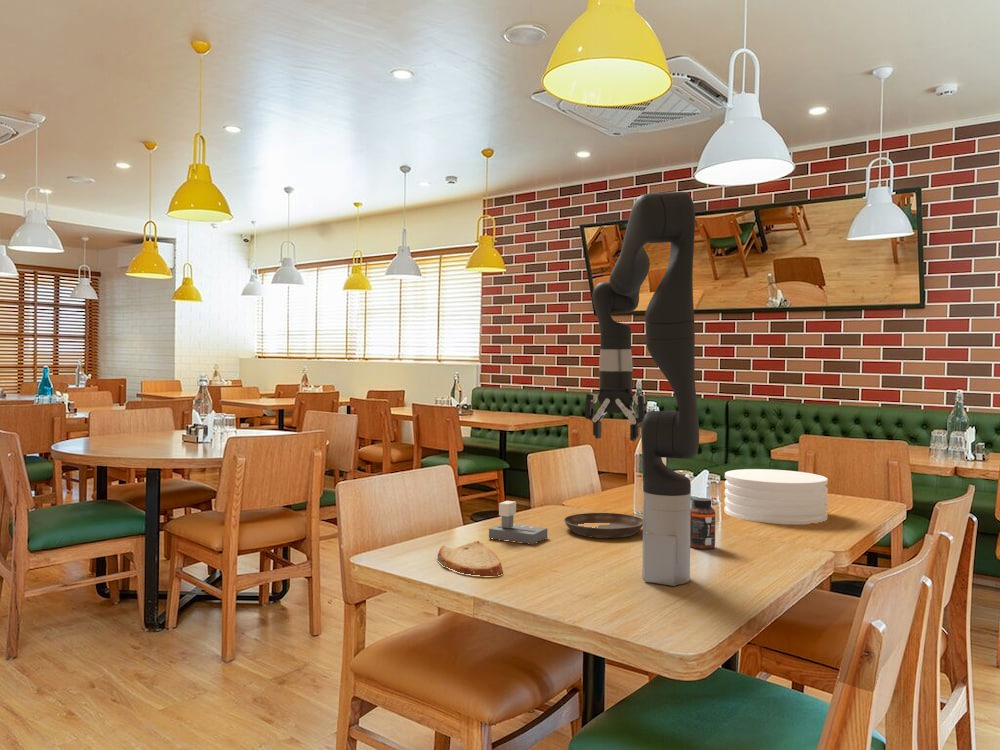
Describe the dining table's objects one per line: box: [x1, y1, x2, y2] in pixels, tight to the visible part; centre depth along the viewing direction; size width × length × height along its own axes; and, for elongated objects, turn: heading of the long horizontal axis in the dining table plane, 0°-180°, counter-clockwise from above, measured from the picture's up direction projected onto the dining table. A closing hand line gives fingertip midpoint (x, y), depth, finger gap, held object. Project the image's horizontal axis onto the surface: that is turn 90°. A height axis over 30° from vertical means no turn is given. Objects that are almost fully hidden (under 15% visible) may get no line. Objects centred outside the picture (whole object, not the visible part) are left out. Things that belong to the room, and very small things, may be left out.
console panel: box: [488, 523, 548, 545], centre depth 173 cm, size 8×12×3 cm, turn 61°
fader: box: [498, 500, 517, 528], centre depth 174 cm, size 4×3×6 cm, turn 151°
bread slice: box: [436, 540, 504, 576], centre depth 151 cm, size 18×18×4 cm
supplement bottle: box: [690, 497, 716, 550], centre depth 166 cm, size 6×6×11 cm
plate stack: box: [723, 468, 829, 525], centre depth 207 cm, size 28×28×12 cm
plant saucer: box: [563, 512, 643, 539], centre depth 183 cm, size 21×21×3 cm
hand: (615, 439), depth 163 cm, fingers open, 8 cm apart
